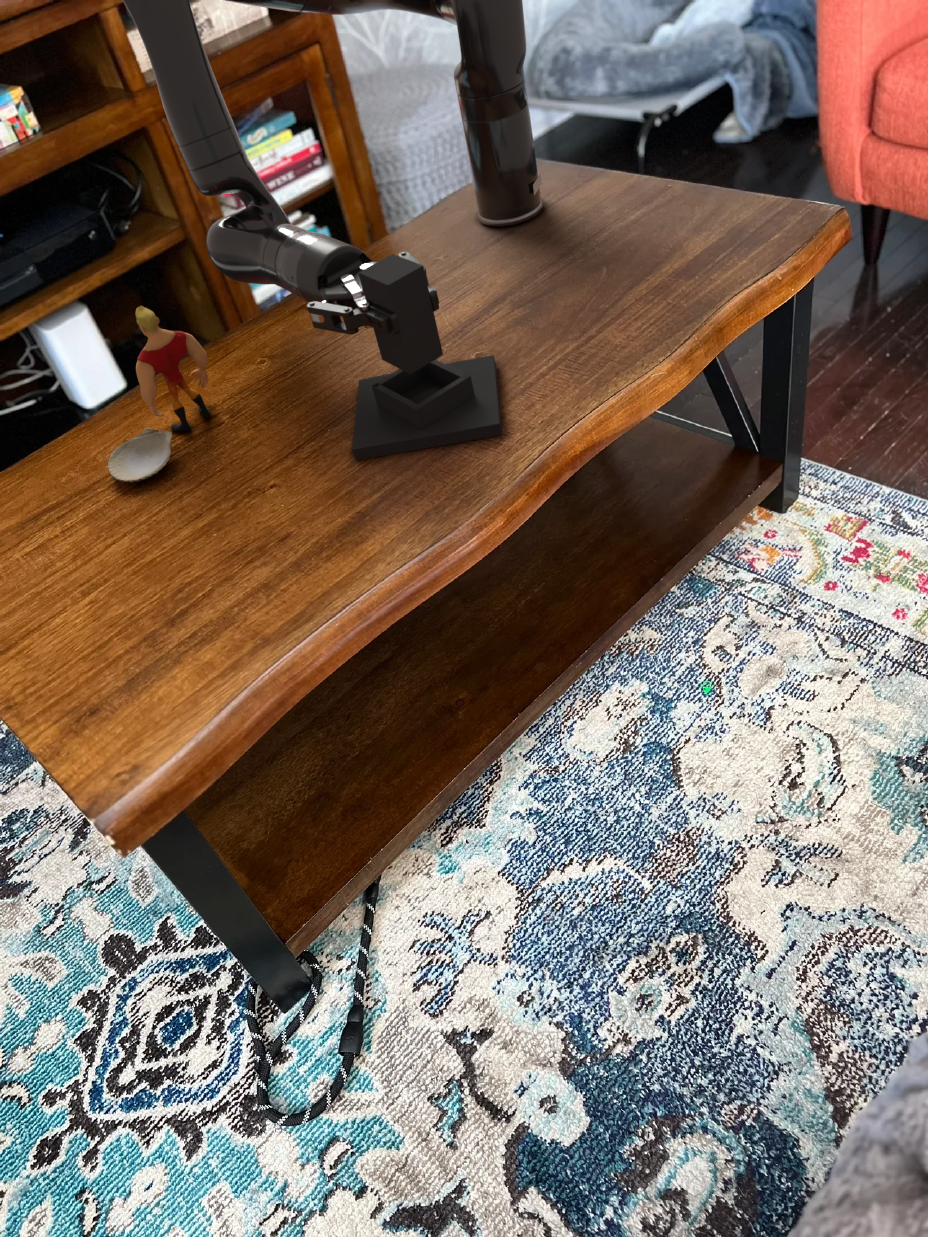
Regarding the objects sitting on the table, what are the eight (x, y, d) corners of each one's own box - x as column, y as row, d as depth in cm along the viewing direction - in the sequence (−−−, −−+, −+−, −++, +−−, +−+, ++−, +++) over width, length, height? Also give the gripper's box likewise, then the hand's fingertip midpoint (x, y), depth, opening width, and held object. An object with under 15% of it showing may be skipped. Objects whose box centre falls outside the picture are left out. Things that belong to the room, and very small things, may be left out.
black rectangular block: (381, 359, 103) (357, 272, 96) (414, 340, 105) (392, 253, 98) (410, 374, 100) (387, 285, 93) (443, 354, 101) (423, 265, 94)
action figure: (214, 397, 119) (164, 283, 108) (231, 403, 117) (183, 289, 106) (154, 438, 114) (96, 325, 104) (171, 446, 112) (114, 331, 102)
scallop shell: (113, 492, 111) (151, 493, 106) (94, 473, 109) (132, 473, 104) (154, 441, 115) (193, 439, 110) (136, 422, 113) (175, 420, 108)
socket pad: (362, 390, 113) (353, 360, 110) (496, 365, 111) (490, 334, 108) (355, 460, 103) (345, 430, 100) (502, 435, 101) (495, 403, 98)
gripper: (259, 267, 102) (349, 310, 91) (365, 212, 107) (462, 246, 96) (281, 331, 107) (369, 378, 96) (381, 276, 112) (475, 315, 101)
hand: (415, 312), depth 96 cm, fingers closed on black rectangular block, 4 cm apart
